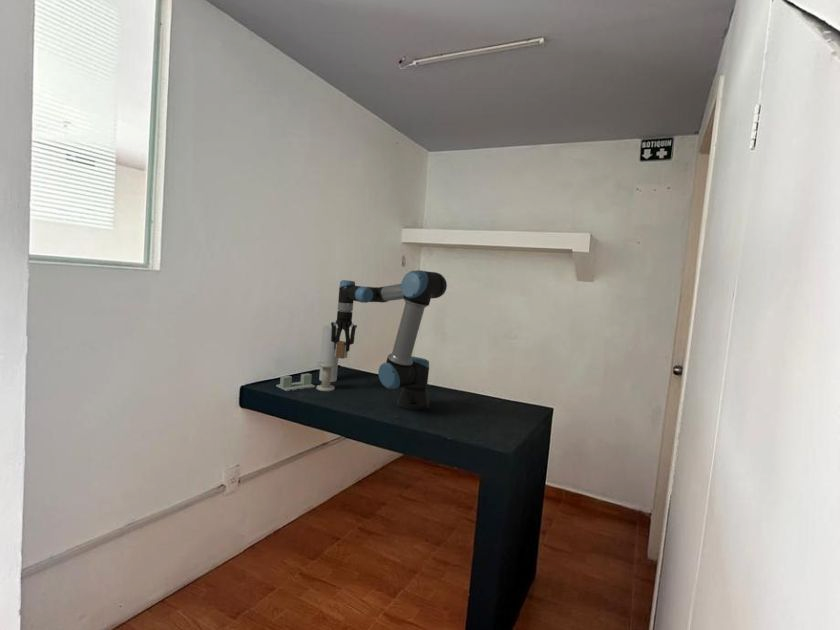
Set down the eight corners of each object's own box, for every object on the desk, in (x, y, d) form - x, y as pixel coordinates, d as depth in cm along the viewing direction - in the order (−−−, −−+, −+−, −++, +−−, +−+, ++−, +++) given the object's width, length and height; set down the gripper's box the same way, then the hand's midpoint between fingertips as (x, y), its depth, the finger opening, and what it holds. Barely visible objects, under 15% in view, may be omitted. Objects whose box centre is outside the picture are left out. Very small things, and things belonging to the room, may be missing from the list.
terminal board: (314, 387, 228) (315, 376, 228) (286, 391, 217) (287, 379, 216) (304, 382, 235) (304, 371, 235) (276, 386, 223) (277, 374, 223)
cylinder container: (316, 380, 243) (320, 325, 240) (324, 376, 252) (328, 324, 249) (331, 382, 240) (335, 327, 238) (339, 379, 249) (343, 326, 247)
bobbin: (338, 389, 227) (340, 364, 226) (323, 392, 221) (325, 366, 220) (327, 385, 233) (329, 361, 232) (312, 387, 227) (314, 362, 226)
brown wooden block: (342, 358, 224) (344, 343, 223) (335, 357, 225) (336, 341, 224) (346, 357, 228) (347, 342, 227) (339, 356, 229) (340, 340, 228)
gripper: (363, 312, 225) (359, 358, 228) (333, 308, 230) (329, 353, 232) (357, 313, 218) (353, 360, 220) (326, 309, 223) (322, 355, 225)
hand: (341, 356), depth 226 cm, fingers closed on brown wooden block, 4 cm apart
